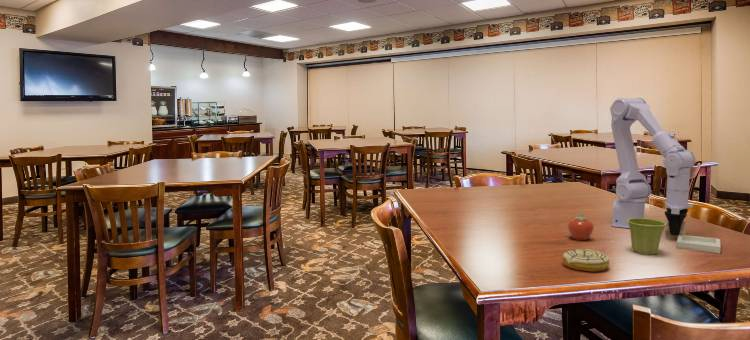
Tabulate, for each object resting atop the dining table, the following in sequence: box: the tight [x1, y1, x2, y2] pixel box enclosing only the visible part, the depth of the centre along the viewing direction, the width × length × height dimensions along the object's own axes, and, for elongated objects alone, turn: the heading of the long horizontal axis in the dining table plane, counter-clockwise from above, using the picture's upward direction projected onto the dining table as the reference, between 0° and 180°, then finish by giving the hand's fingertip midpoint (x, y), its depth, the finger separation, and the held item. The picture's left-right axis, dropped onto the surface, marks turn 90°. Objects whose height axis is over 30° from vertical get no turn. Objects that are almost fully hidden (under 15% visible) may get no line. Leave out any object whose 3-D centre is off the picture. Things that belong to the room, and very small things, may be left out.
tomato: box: [567, 213, 595, 241], centre depth 141 cm, size 7×7×8 cm
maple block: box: [664, 220, 687, 241], centre depth 141 cm, size 5×5×5 cm
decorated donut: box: [562, 248, 610, 273], centre depth 116 cm, size 10×11×4 cm
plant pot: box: [627, 217, 666, 256], centre depth 127 cm, size 9×9×9 cm
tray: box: [676, 234, 722, 254], centre depth 131 cm, size 10×10×2 cm
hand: (675, 233), depth 141 cm, fingers open, 5 cm apart
